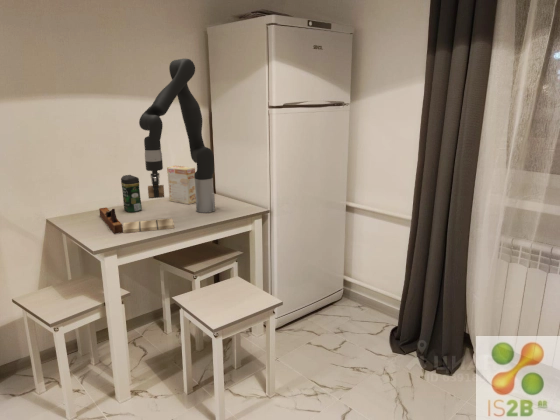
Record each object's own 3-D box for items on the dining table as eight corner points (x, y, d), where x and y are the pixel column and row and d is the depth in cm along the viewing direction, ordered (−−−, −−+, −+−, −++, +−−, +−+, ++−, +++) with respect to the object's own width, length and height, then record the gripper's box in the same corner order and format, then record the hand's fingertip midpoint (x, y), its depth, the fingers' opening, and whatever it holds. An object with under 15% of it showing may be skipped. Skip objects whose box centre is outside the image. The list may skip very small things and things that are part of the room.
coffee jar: (121, 209, 232) (118, 175, 227) (136, 207, 237) (133, 173, 232) (129, 213, 225) (125, 177, 220) (144, 210, 230) (140, 175, 225)
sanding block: (164, 195, 208) (163, 184, 207) (164, 197, 204) (163, 186, 203) (148, 196, 206) (147, 185, 205) (148, 198, 202) (147, 187, 201)
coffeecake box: (197, 201, 247) (195, 167, 242) (188, 204, 241) (186, 169, 236) (178, 198, 255) (175, 165, 249) (169, 201, 249) (166, 167, 244)
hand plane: (127, 232, 197) (124, 210, 194) (114, 234, 194) (112, 212, 191) (107, 214, 224) (105, 195, 221) (96, 216, 221) (94, 197, 218)
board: (172, 221, 211) (172, 218, 211) (174, 228, 201) (174, 225, 201) (123, 225, 205) (123, 222, 205) (123, 233, 195) (123, 229, 194)
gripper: (162, 161, 195) (165, 199, 199) (161, 156, 208) (164, 192, 213) (144, 162, 193) (148, 200, 198) (145, 157, 206) (148, 193, 211)
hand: (156, 195), depth 205 cm, fingers closed on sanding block, 4 cm apart
